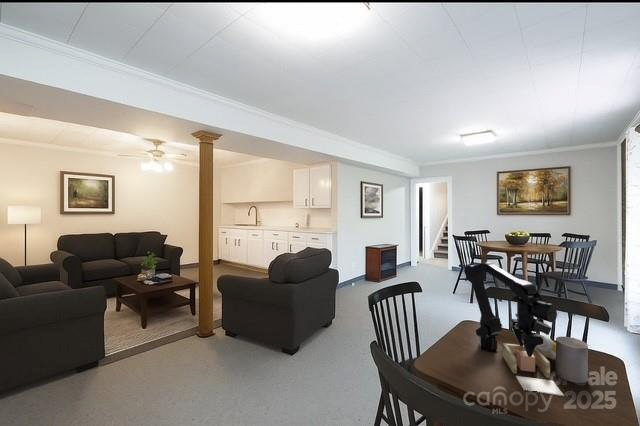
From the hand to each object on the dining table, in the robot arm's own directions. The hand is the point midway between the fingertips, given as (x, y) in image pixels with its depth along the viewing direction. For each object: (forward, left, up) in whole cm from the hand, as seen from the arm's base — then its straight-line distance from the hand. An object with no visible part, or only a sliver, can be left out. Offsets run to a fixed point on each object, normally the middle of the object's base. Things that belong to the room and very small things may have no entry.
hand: (525, 351), depth 122 cm
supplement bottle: (+15, +13, -4) cm, 20 cm away
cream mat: (0, -13, -7) cm, 15 cm away
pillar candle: (+15, -3, -7) cm, 16 cm away
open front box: (0, 0, -7) cm, 7 cm away
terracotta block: (0, 0, -7) cm, 7 cm away
